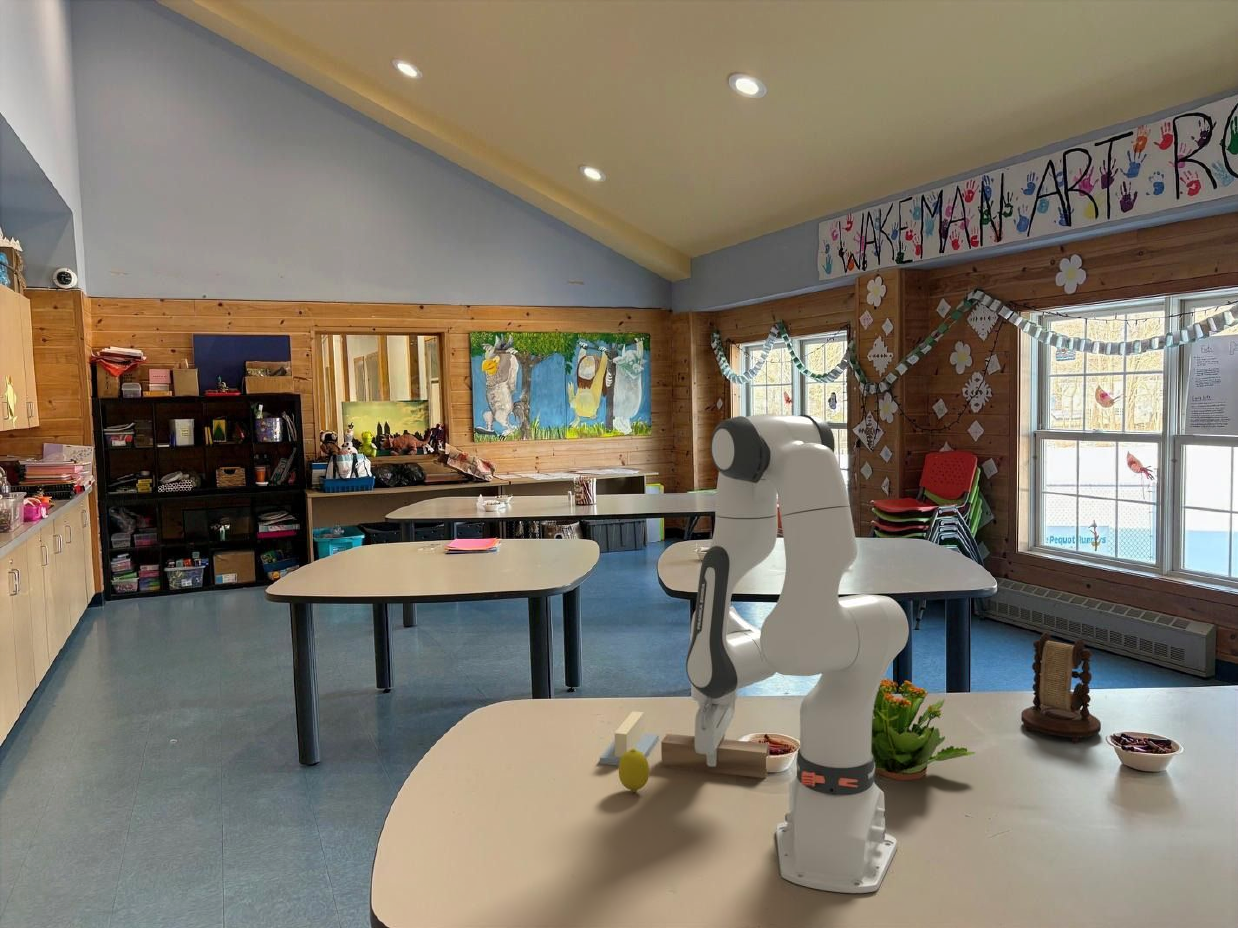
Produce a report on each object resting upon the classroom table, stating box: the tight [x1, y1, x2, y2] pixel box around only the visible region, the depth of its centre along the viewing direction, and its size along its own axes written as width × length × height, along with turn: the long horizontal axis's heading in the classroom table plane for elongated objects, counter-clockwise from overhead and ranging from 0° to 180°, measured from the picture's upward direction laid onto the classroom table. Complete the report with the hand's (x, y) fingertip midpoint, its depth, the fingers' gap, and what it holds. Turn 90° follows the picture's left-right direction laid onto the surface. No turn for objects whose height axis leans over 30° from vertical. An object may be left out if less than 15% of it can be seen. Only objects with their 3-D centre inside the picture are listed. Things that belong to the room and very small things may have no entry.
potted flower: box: [871, 677, 976, 781], centre depth 167 cm, size 25×24×18 cm
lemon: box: [618, 749, 650, 793], centre depth 162 cm, size 6×6×8 cm
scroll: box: [1020, 632, 1102, 744], centre depth 185 cm, size 15×15×20 cm
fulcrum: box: [599, 711, 660, 767], centre depth 180 cm, size 14×8×6 cm, turn 162°
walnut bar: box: [660, 733, 770, 779], centre depth 171 cm, size 4×20×5 cm, turn 72°
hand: (715, 758), depth 172 cm, fingers closed on walnut bar, 4 cm apart
